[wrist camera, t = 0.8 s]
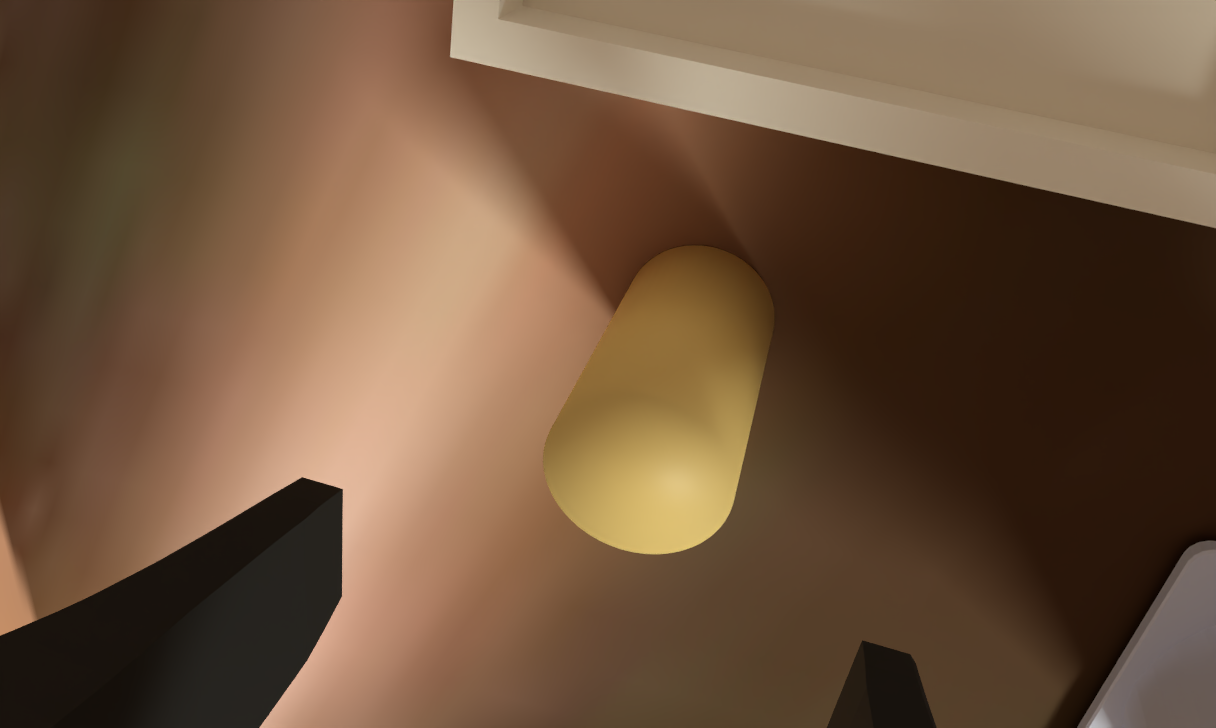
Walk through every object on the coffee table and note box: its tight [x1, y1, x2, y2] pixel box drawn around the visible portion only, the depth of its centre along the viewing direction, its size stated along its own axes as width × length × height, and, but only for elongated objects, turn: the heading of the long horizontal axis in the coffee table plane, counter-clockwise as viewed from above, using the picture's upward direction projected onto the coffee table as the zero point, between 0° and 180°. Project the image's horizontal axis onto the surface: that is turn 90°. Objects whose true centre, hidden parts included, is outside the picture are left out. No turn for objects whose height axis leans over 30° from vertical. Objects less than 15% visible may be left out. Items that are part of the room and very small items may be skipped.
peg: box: [543, 245, 775, 554], centre depth 18 cm, size 3×3×6 cm
